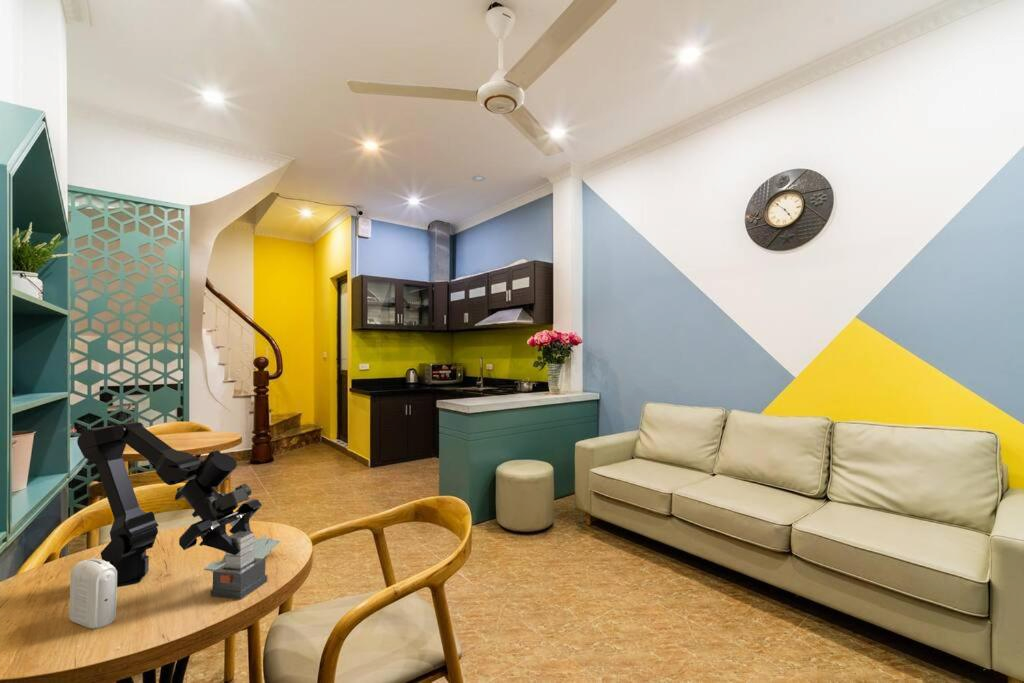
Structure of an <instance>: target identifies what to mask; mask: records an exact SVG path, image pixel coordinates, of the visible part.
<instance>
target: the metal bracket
mask: <svg viewBox="0 0 1024 683" xmlns="http://www.w3.org/2000/svg"><path fill="white" fill-rule="evenodd" d="M280 543H281V540H278V539H274V538H273V537H268V539H267V535H266V534H264V535H263V536H262V537H260V538H254V558H260V559H265V557H266V556H268V555H269V553H270V551H273V549H275V548H277V546H278V545H279V544H280ZM225 562H226V556H225V555H223V559H222V560H219V561H211V562H210V563H209V564H208V565H207V566H205V567H204V569H203V570H204V571H208V572H213V571H215V570H216V569H218V568H220V567H222V566H223V565H225Z"/></svg>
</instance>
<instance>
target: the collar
mask: <svg viewBox="0 0 1024 683" xmlns="http://www.w3.org/2000/svg"><path fill="white" fill-rule="evenodd" d="M267 582H268V575H267V574H266V558H263V559H260V558H254V563H253V564H251V565H249V566H248V567H246V568H244V569H243V570H241V571H238V570H225V565H223V566H222V567H220V568H218V569H216V570H215V571H212V589H210V591H209V592H210V593H209V594H210V595H209V596H210V598H211V597H212V598H221V599H232V600H242V599H244V598H245V597H247V596H248V595H250V594H251V593H252V592H254V591H255V590H257V589H258V588H260V587H261V586H263V585H264V584H266V583H267Z"/></svg>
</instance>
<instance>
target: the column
mask: <svg viewBox="0 0 1024 683" xmlns="http://www.w3.org/2000/svg"><path fill="white" fill-rule="evenodd" d="M228 536H229V537H230V539H231V540H232V541H233V543H234V544H235V546H236V547H237V549H238V551H239V552H238V554H237V555H233V554H230V553H227V552H225V554H224V556H226V562H225V570H238V571H241V570H243V569H244V568H246V567H248V566H249V565H251V564H253V563H254V539H255V532H254V531H251V532H246V531H239V532H237V533H235V534H231V535H228Z"/></svg>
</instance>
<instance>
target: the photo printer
mask: <svg viewBox="0 0 1024 683" xmlns="http://www.w3.org/2000/svg"><path fill="white" fill-rule="evenodd" d="M69 583H70V586H69V587H70V588H69V611H68V613H69V614H68V615H69V616H68V617H69V620H70V621H71V622H73V623H75V624H78V625H80V626H83V627H86V628H87V629H95V630H96V629H102V628H104V627H106V626H108V625H110V624H111V623H113V621H114V620H116V616H117V600H118V599H117V593H118V586H117V571H116V569H115V567H114V566H113V565H111V564H110V562H106V561H104V560H102V558H101V559H100V558H88V559H85V560H81V561H78V562H77V563H75V565H74V566H73V568H72V569H71V571H70V582H69Z"/></svg>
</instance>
